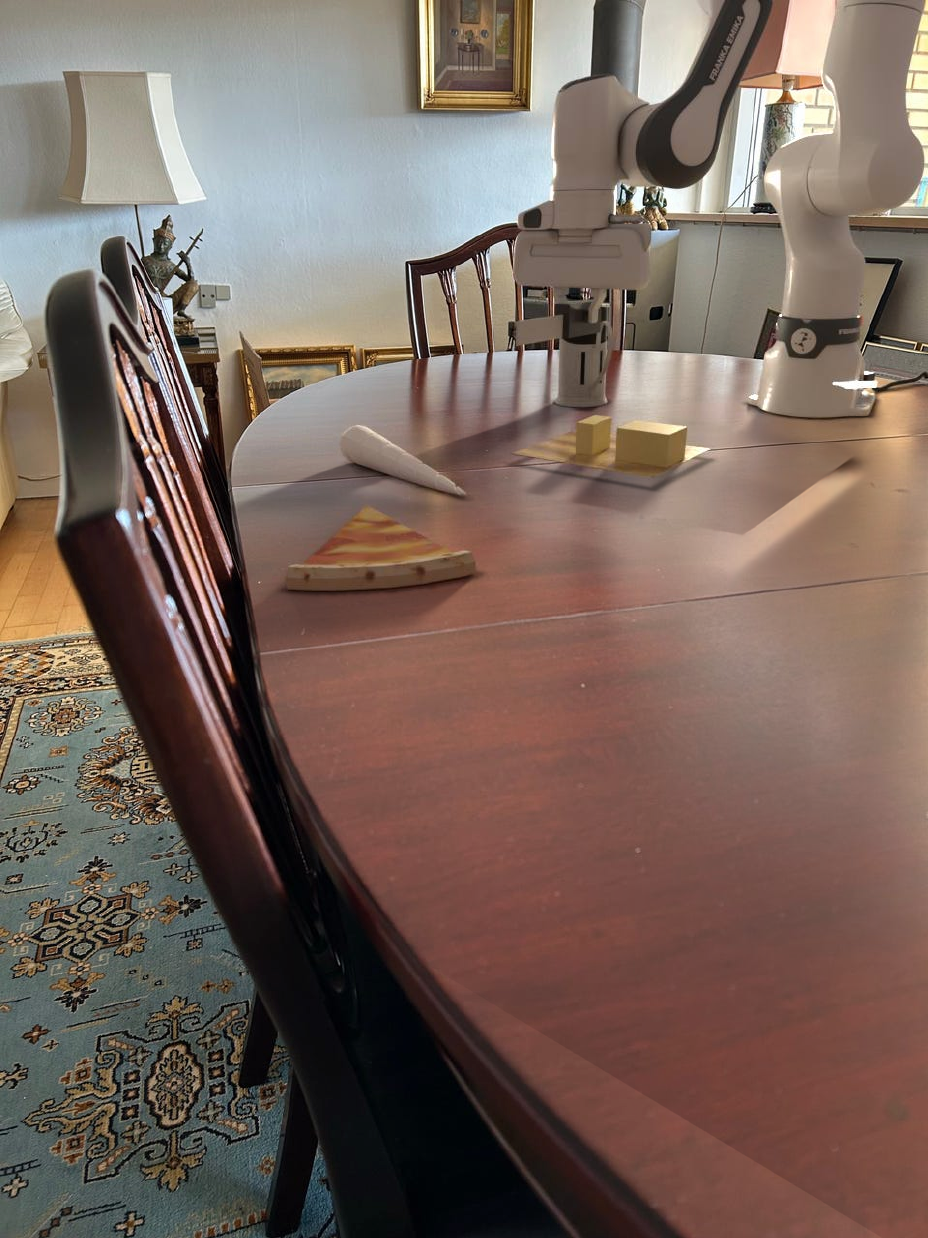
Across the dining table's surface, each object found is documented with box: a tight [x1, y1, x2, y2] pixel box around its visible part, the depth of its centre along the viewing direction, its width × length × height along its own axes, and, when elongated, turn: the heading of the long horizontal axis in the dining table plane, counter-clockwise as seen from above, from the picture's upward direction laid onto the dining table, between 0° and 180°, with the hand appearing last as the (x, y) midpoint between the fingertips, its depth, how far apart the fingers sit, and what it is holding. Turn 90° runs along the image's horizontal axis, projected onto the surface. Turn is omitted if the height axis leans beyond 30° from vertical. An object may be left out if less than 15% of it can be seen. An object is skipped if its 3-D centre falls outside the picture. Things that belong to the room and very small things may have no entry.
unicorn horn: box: [339, 424, 467, 496], centre depth 109 cm, size 5×24×5 cm, turn 35°
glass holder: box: [555, 306, 614, 408], centre depth 145 cm, size 9×14×15 cm, turn 18°
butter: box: [615, 419, 688, 468], centre depth 110 cm, size 5×7×4 cm
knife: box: [515, 299, 603, 347], centre depth 122 cm, size 20×2×4 cm, turn 143°
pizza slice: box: [285, 504, 477, 592], centre depth 86 cm, size 16×22×2 cm
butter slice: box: [575, 414, 612, 456], centre depth 114 cm, size 5×2×4 cm, turn 145°
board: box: [511, 429, 710, 479], centre depth 115 cm, size 16×20×2 cm
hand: (578, 321), depth 126 cm, fingers closed on knife, 2 cm apart
